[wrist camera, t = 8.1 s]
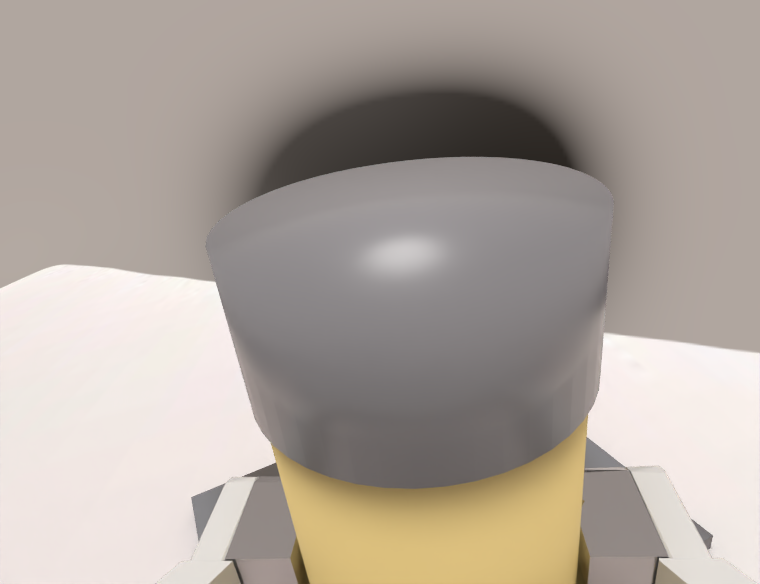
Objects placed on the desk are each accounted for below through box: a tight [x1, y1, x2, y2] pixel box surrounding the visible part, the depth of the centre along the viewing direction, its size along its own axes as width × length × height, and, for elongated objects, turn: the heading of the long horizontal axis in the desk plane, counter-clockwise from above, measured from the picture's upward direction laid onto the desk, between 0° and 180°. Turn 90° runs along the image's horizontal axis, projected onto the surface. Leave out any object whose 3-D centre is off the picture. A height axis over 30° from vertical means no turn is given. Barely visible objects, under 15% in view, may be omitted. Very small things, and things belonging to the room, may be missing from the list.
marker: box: [206, 157, 614, 584], centre depth 8 cm, size 4×4×12 cm
